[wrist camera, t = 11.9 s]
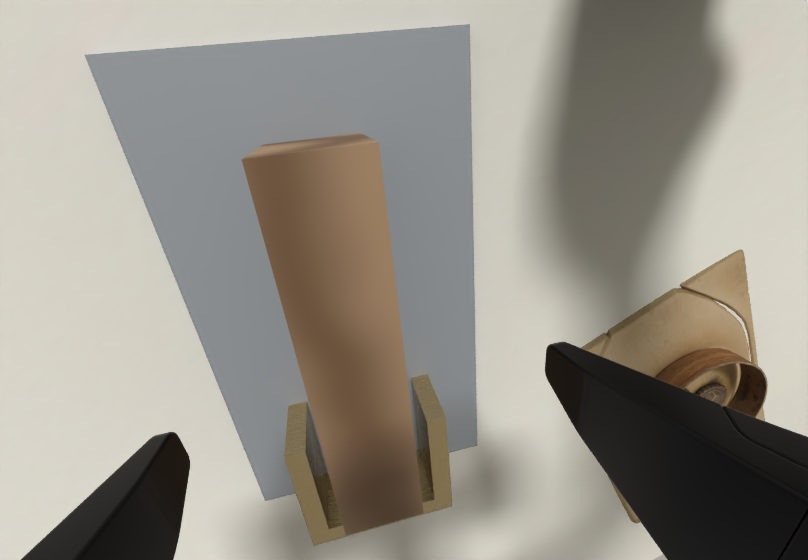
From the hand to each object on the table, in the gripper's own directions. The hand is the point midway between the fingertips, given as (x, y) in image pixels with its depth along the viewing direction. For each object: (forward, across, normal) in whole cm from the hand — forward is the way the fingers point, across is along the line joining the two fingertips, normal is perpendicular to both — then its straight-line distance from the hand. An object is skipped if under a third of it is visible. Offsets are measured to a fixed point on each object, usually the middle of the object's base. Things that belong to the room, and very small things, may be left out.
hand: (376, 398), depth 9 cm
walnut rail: (+10, +1, +4) cm, 11 cm away
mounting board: (+11, +1, +3) cm, 11 cm away
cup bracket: (+10, +1, +12) cm, 15 cm away
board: (+12, -24, +19) cm, 32 cm away
